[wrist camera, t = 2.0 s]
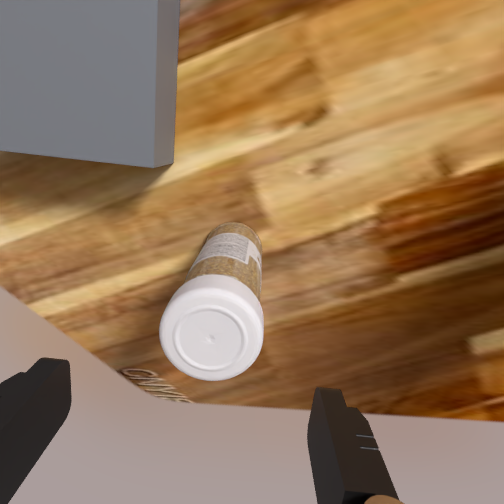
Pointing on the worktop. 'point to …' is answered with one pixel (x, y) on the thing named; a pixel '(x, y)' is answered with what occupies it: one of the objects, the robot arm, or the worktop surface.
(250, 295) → the spice jar
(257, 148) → the worktop surface
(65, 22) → the grey block
